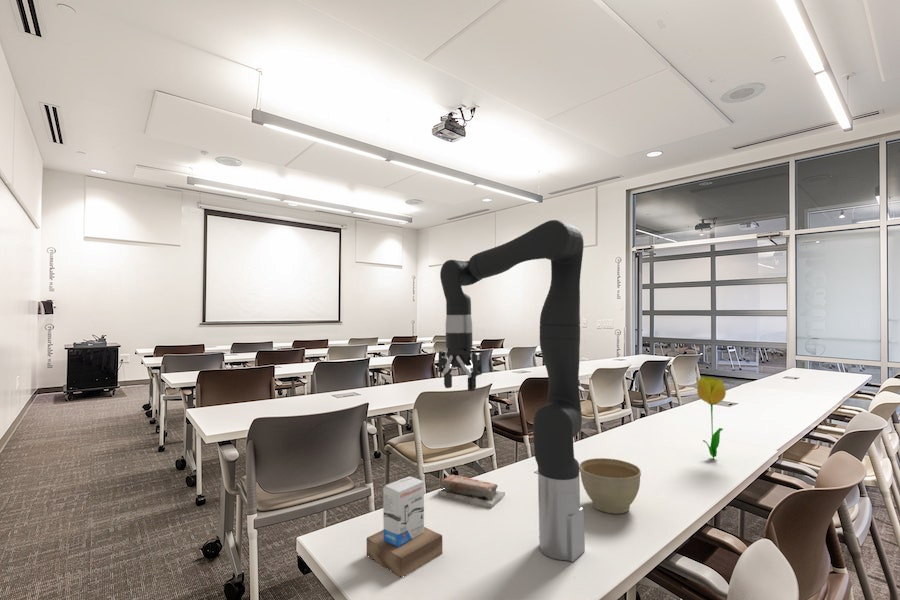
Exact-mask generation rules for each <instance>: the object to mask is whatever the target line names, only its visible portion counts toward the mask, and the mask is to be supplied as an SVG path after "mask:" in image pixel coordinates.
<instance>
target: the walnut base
mask: <svg viewBox="0 0 900 600" xmlns="http://www.w3.org/2000/svg"><path fill="white" fill-rule="evenodd" d="M441 555H443V535H442V534H441V533H439V532H436V531H434V530H432V529H430V528H427V526H426V527H425V526H424V533H422V534H420V535H419V536H417V537H415V538H413V539H412V540H410V541H408V542H406V543H405V544H403V545H401V546H399V547H397V546H395V545H393V544H390V543H388V542H386V541H384V529H382V530H380V531H378V532H376V533H374V534H372V535H369V536H367V537H366V557H367V556H369V557H370V558H372V559H374V560H375V561H376V562H375V561H374V560H373V561H374V562H375V563H377V562H378V563H377V564H378V565H380V564H381V565H380V566H382V565H383V566H384V568H385V567H386V568H385V569H387V568H388V569H389V570H388V569H387V570H388V571H390V570H391V571H392V572H391V571H390V572H391V573H393V572H394V574H395V573H396V574H397V575H396V574H395V575H396V576H398V575H399V576H401V577H403V576H405V575H406V576H408V575H410V574H411V573H413V572H414V571H416V570H418V569H419V568H421V567H422V565H423V566H424V565H426V564H428V563H430V562H431V561H432V560H434V559H436V558H437V557H439V556H441ZM369 557H368V558H369ZM370 558H369V559H370ZM372 559H371V560H372ZM427 562H428V563H427ZM383 566H382V567H383ZM417 568H418V569H417ZM415 569H416V570H415ZM412 571H413V572H412ZM409 573H410V574H409ZM407 574H408V575H407ZM399 576H398V577H399ZM406 576H405V577H406ZM401 577H400V578H401ZM403 578H404V577H403Z"/></svg>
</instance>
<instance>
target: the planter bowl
mask: <svg viewBox="0 0 900 600" xmlns="http://www.w3.org/2000/svg"><path fill="white" fill-rule="evenodd" d="M579 473H580V479H581V480H580V481H581V482H582V486H583V489H584V490H585V494H587V496H588V498H589V499H590V500H591V501H592V506H593V507H594V509H596V510H598V511H601V512H603V513H607V514H625V513H627V512H628V511H629V510H630V507H631V505H632V504H633V502H634V501H635V499H636V497H637V495H638V494H639V493H638V492H639V490H640V485H641V474H642V470H641V468H640V467H639V466H638V465H635V464H633V463H631V462H627V461H624V460H621V459H615V458H604V457H602V458H601V457H599V458H598V457H597V458H589V459H584V460H583V461H581V462H580V463H579Z"/></svg>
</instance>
